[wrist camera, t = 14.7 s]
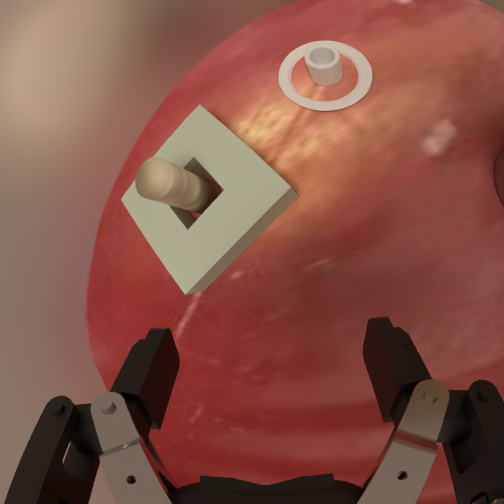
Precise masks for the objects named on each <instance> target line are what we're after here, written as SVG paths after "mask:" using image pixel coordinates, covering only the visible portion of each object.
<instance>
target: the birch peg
mask: <svg viewBox="0 0 504 504" xmlns="http://www.w3.org/2000/svg"><path fill="white" fill-rule="evenodd" d="M135 185H136V190H137V192H138V194H139V195H140V196H141V197H143V198H146V199H149V200H153V201H157V202H160V203H164V204H168V205H171V206H175V207H178V208H182V209H185V210H189V211H192V212H196V213H199V214H203V213H204V211H205V210H206V209H207V208H208V207H209V206H210V205H211V204H212V203H213V202H214V201H215V199H216V198H217V197H218V196H219V195H220V194H221V193H222V191H221V189H220V188H219V187H218V186H217V185H215V184H213V183H211V182H209V181H207V180H205V179H203V178H201V177H199V176H197V175H195V174H193V173H191V172H189V171H187V170H185V169H183V168H181V167H179V166H177V165H175V164H173V163H171V162H169V161H167V160H165V159H163V158H160V157H151V158H149V159H147V160H146V161H145V162H144V163H143V164H142V165H141V167H140V168H139V170H138V172H137V175H136V180H135Z"/></svg>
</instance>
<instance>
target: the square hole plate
mask: <svg viewBox="0 0 504 504" xmlns="http://www.w3.org/2000/svg"><path fill="white" fill-rule="evenodd" d="M154 157H160V158H163V159H165V160H167V161H169V162H171V163H173V164H175V165H177V166H179V167H181V168H183V169H185V170H187V171H189V172H191V173H193V174H195V175H197V176H199V177H201V176H202V175H203V174H204V172H205V171H206V170H207V171H208V173H209V174H210V175H211V176H212V177H213V178H214V179H215V180H216V181H217V182H218V183H219V184H220V185H221V187H222V188H223V189H224V191H223V192H222V193H221V194H220V195H219V196H218V197H217V198H216V199H215V201H214V202H213V203H212V204H211V205H210V206H209V207H208V208H207V209H206V210H205V211H204V213H203V214H202V215H201V216H200V217H199V218H198V219H197V220H196V221H195V220H194V218H193V217H192V216H191V215H190V213H189V212H188V211H187V210H185V209H182V208H178V207H175V206H171V205H168V204H164V203H160V202H157V201H153V200H149V199H146V198H143V197H141V196H140V195H139V194H138V192H137V190H136V185H135V181H134V182H133V184H132V185H131V186H130V188H129V189H128V190H127V192H126V193H125V194H124V196H123V197H122V199H121V200H122V202H123V204H124V205H125V207H126V208H127V210H128V211H129V213H130V215H131V216H132V218H133V219H134V221H135V222H136V224H137V226H138V227H139V229H140V230H141V232H142V233H143V235H144V236H145V238H146V239H147V241H148V242H149V244H150V245H151V247H152V248H153V250H154V251H155V253H156V254H157V256H158V257H159V258H160V260H161V261H162V263H163V264H164V266H165V267H166V268H167V270H168V271H169V273H170V274H171V276H172V277H173V278H174V280H175V281H176V283H177V284H178V285H179V287H180V288H181V289H182V291H183V292H184V294H185V295H186V294H192V293H198V292H203V291H204V290H205V289H206V288H207V287H208V286H209V285H210V284H211V283H212V282H213V281H214V280H215V279H216V278H217V277H218V276H219V275H220V274H221V273H222V272H223V271H224V270H225V269H226V268H227V267H228V266H229V265H230V264H231V263H232V262H233V261H234V260H235V259H236V258H237V257H238V256H239V255H240V254H241V253H242V252H243V251H244V250H245V249H246V248H247V247H248V246H249V245H250V244H251V243H252V242H253V241H254V240H255V239H256V238H257V237H258V236H259V235H260V234H261V233H262V232H263V231H264V230H265V229H266V228H267V227H268V226H269V225H270V224H271V223H272V222H273V221H274V220H275V219H276V218H277V217H278V216H279V215H280V214H281V213H282V212H283V211H284V210H285V209H286V208H287V207H288V206H289V205H290V204H291V203H292V202H293V201H294V200H295V199H296V198H297V197H298V196H299V195H298V194H297V193H296V192H295V191H294V189H293V188H292V187H291V186H290V185H289V184H288V183H287V182H286V181H285V180H284V179H283V178H281V177H280V176H279V175H278V174H277V173H276V172H275V171H274V170H273V169H272V168H271V167H270V166H269V165H268V164H267V163H266V162H265V161H263V160H262V159H261V158H260V157H259V156H258V155H257V154H256V153H255V152H254V151H253V150H252V149H250V148H249V147H248V146H247V145H246V144H245V143H244V142H243V141H242V140H240V139H239V138H238V137H237V136H236V135H235V134H234V133H232V132H231V131H230V130H229V129H228V128H227V127H226V126H224V125H223V124H222V123H221V122H220V121H219V120H217V119H216V118H215V117H214V116H213V115H212V114H210V113H209V112H208V111H207V110H206V109H204V108H203V107H202V106H201V105H199V106H198V107H197V108H196V109H195V110H194V111H193V112H192V113H191V114H190V115H189V116H188V117H187V118H186V120H185V121H184V122H183V123H182V124H181V125H180V126H179V127H178V128H177V130H176V131H175V132H174V133H173V134H172V135H171V136H170V138H169V139H168V140H167V141H166V142H165V143H164V145H163V146H162V147H161V148H160V149H159V151H158V152H157V153H156V154H155V155H154Z"/></svg>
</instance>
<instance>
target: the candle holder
mask: <svg viewBox="0 0 504 504" xmlns="http://www.w3.org/2000/svg"><path fill="white" fill-rule="evenodd" d="M339 53H340V54H342V55H344V56H346V57H347V58H349V59H350V60H351V61H352V62H353V63H354V64H355V66H356V68H357V70H358V82H357V85H356V86H355V88H354V89H353V90H352V91H351V92H350V93H349V94H348V95H346V96H345V97H343V98H340V99H337V100H333V101H316V100H312V99H309V98H306V97H304V96H303V95H301V94H300V93H299V92H298V91H297V90H296V89H295V88H294V86H293V84H292V81H291V71H292V69H293V67H294V65H295V64H296V62H297V61H298V60H299V59H301V58H302V57H303V56H305V62H306V65H307V67H308V70H309V73H310V76H311V78H312V80H313V81H314V82H315V83H317V84H319V85H322V86H332V85H335V84H337V83H338V82H339V81H340V80H341V79H342V76H343V70H342V64H341V59H340V54H339ZM371 83H372V69H371V66H370V64H369V62H368V61H367V59H366V58H365V57H364V56H363V55H362V54H361V53H360V52H359V51H358V50H356V49H355V48H353V47H351V46H349V45H346V44H344V43H340V42H335V41H316V42H311V43H308V44H305V45H302V46H300V47H298V48H297V49H295V50H293V51H292V52H291V53H290V54H289V55H288V56H287V57H286V58H285V59H284V61H283V63H282V64H281V67H280V70H279V85H280V87H281V89H282V91H283V92H284V94H285V96H286V97H288V98H289V99H290V100H292V101H293V102H295V103H296V104H298V105H300V106H303V107H305V108H309V109H313V110H319V111H332V110H338V109H342V108H346V107H348V106H351V105H353V104H355V103H356V102H358V101H359V100H360V99H362V98H363V97H364V96H365V94H366V93H367V92H368V90H369V88H370V86H371Z"/></svg>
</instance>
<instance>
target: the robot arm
mask: <svg viewBox="0 0 504 504" xmlns="http://www.w3.org/2000/svg"><path fill="white" fill-rule="evenodd" d="M494 176H495V183H496V187H497V191H498V194H499V196H500V198H501V201H502V202H503V204H504V150H502V151H501V152H500V154H499V155H498V157H497V159H496V162H495V169H494ZM127 357H128V358H126V360H125V362H124V365H123V366H122V368H121V370H120V372H119V374H118V376H117V378H116V380H115V382H114V384H113V386H112V388H111V390H110V392H106V393H103V394H100V395H99V396H97V397H96V398H95V399H94V401H93V402H92V403H91V404H80V405H74V404H73V402H72V401H71V400H70V399H69V398H68V397H66V396H57V397H55V398H53V399H51V400H50V401H49V402H48V403H47V405H46V407H45V409H44V410H43V412H42V414H41V416H40V418H39V420H38V423H37V425H36V427H35V429H34V431H33V433H32V435H31V437H30V440H29V442H28V444H27V446H26V449H25V451H24V453H23V455H22V458H21V460H20V462H19V465H18V467H17V470H16V472H15V475H14V478H13V480H12V483H11V485H10V488H9V491H8V494H7V497H6V500H5V503H4V504H88V503H89V499H90V495H91V492H92V488H93V484H94V481H95V477H96V474H97V470H98V467H99V464H100V462H101V465H102V468H103V470H104V473H105V476H106V479H107V481H108V484H109V486H110V489H111V491H112V493H113V496H114V498H115V501H116V503H117V504H415V502H416V500H417V498H418V496H419V494H420V492H421V490H422V488H423V486H424V483H425V481H426V479H427V476H428V474H429V472H430V469H431V467H432V464H433V462H434V459H435V456H436V454H437V450H438V446H437V445H436V442H442V445H443V448H444V451H445V455H446V459H447V462H448V466H449V470H450V474H451V478H452V482H453V486H454V491H455V495H456V500H457V504H504V402H503V400H502V398H501V396H500V394H499V392H498V390H497V388H496V387H495V386H494V385H493V384H492V383H491V382H489V381H486V380H478V381H475V382H474V383H472V384H471V386H470V388H469V389H468V390H448V389H447V387H446V386H445V385H444V384H443V383H441V382H439V381H437V380H433V379H432V378H431V376H430V374H429V372H428V370H427V368H426V366H425V364H424V362H423V360H422V358H421V356H420V355H419V353H418V352H417V349H416V347H415V345H413V342H412V340H411V338H410V336H409V334H407V333H406V332H405V331H404V330H403V329H401V328H400V327H396V328H394V327H393V325H392V323H391V321H390V319H389V318H388V317H378V318H370V319H369V320H368V324H367V330H366V335H365V340H364V345H363V358H364V362H365V365H366V368H367V371H368V374H369V377H370V380H371V383H372V386H373V389H374V392H375V395H376V398H377V402H378V405H379V408H380V411H381V415H382V418H383V421H384V423H386V422H390V421H393V422H394V425H395V428H394V429H393V431H392V433H391V435H390V437H389V439H388V441H387V443H386V445H385V447H384V449H383V451H382V453H381V455H380V456H379V458H378V460H377V462H376V464H375V465H374V467H373V469H372V470H371V472H370V473H369V475H368V476H367V478H366V480H365V481H364V483H363V484H362V486H361V487H360V486H358V485H355V484H353V483H349V482H346V481H340V480H334V477H333V473H330V474H322V475H314V476H303V477H298V478H294V479H291V480H287V481H283V482H280V483H276V484H271V485H260V484H255V483H251V482H247V481H243V480H239V479H235V478H225V477H211V476H200V482H198V483H193V484H188V485H185V486H182V487H180V488H179V486H178V485H177V484H176V482H175V481H174V479H173V478H172V477H171V475H170V474H169V472H168V471H167V469H166V467H165V466H164V464H163V462H162V460H161V458H160V456H159V455H158V453H157V451H156V449H155V447H154V445H153V443H152V441H151V439H150V437H149V436H148V435H149V432H150V429H156V430H160V429H161V425H162V422H163V419H164V415H165V412H166V409H167V405H168V402H169V399H170V396H171V392H172V389H173V386H174V383H175V379H176V376H177V373H178V370H179V364H180V360H179V354H178V351H177V348H176V345H175V342H174V339H173V336H172V333H171V330H170V329H169V328H151V329H150V330H149V332H148V334H147V336H146V338H145V340H143V339H140V340H139V341H138V342H137V343H136V344H135V345H134V346H133V347H132V348H131V350H130V352H129V354H128V356H127ZM69 443H70V447H69V449H68V452H67V455H66V458H65V460H64V463H63V462H62V461H63V457H64V455H65V452H66V449H67V447H68V444H69Z"/></svg>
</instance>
